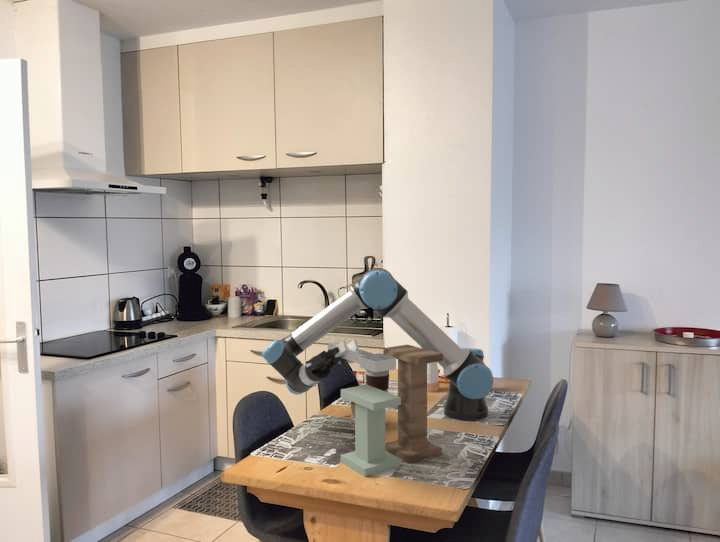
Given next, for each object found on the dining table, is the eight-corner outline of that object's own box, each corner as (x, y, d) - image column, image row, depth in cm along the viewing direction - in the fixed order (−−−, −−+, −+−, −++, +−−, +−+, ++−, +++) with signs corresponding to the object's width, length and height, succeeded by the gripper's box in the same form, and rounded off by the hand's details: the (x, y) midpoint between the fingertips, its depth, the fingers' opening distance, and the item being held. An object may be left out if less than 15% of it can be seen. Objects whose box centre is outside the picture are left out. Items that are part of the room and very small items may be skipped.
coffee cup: (389, 403, 224) (389, 363, 223) (362, 402, 226) (362, 363, 224) (391, 396, 234) (391, 357, 233) (366, 395, 235) (366, 357, 234)
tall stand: (379, 448, 180) (379, 348, 178) (411, 439, 187) (411, 343, 184) (413, 466, 167) (413, 358, 164) (446, 456, 174) (446, 353, 171)
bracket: (321, 353, 180) (321, 343, 180) (341, 351, 184) (341, 341, 184) (374, 372, 158) (374, 361, 157) (396, 369, 161) (396, 358, 161)
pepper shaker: (425, 392, 238) (425, 344, 237) (418, 387, 245) (418, 341, 244) (442, 391, 240) (442, 343, 239) (435, 386, 247) (435, 340, 246)
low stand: (336, 459, 172) (336, 390, 170) (371, 450, 178) (371, 383, 177) (369, 479, 158) (368, 404, 157) (405, 468, 165) (405, 396, 164)
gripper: (340, 378, 194) (377, 353, 176) (295, 385, 185) (330, 360, 167) (333, 355, 196) (370, 329, 179) (289, 362, 187) (323, 335, 170)
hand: (350, 344), depth 173 cm, fingers closed on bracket, 3 cm apart
